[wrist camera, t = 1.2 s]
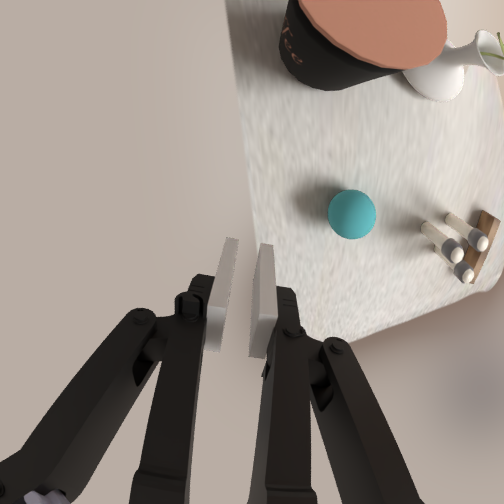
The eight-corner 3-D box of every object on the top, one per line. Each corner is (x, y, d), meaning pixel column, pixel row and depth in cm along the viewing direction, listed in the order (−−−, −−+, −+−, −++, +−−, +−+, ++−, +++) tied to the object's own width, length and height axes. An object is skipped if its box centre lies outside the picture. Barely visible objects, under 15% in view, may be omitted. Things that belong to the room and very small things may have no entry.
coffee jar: (292, 6, 22) (316, -76, 6) (372, 38, 23) (454, -7, 7) (266, 74, 27) (271, 23, 11) (350, 105, 28) (433, 99, 12)
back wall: (482, 210, 32) (494, 218, 29) (488, 213, 32) (500, 220, 29) (457, 272, 38) (467, 282, 35) (463, 273, 38) (473, 283, 35)
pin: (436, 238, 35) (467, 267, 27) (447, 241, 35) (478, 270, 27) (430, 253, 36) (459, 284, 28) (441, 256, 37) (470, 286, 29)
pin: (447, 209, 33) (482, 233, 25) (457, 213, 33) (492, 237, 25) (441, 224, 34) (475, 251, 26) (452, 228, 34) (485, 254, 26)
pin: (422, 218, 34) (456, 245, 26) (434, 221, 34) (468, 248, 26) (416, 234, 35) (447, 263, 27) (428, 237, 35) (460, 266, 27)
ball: (329, 179, 32) (342, 192, 27) (371, 190, 33) (390, 204, 27) (318, 223, 35) (327, 242, 30) (358, 231, 35) (373, 251, 30)
